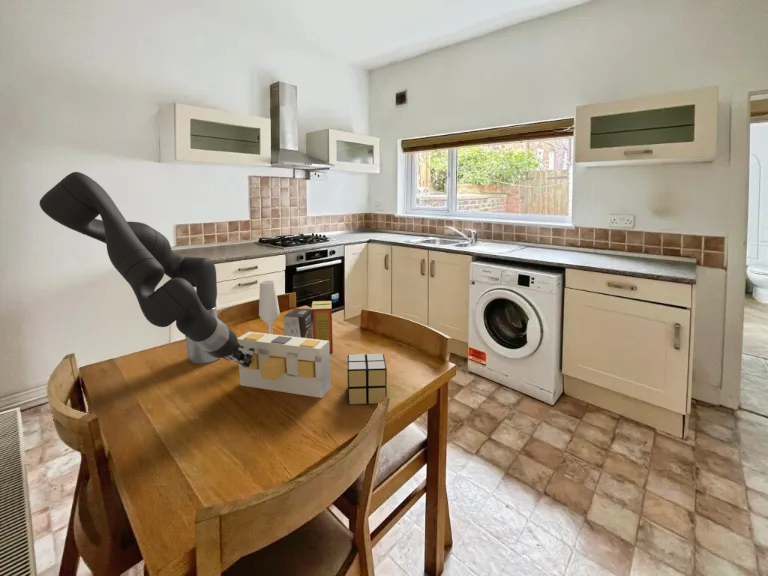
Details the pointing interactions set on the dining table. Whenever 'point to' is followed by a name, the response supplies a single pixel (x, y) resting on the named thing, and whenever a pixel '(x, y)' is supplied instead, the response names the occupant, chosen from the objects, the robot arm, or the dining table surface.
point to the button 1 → (254, 362)
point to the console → (288, 363)
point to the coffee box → (299, 323)
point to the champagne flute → (268, 303)
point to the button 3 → (306, 368)
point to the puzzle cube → (366, 378)
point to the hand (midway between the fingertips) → (247, 363)
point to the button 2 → (273, 368)
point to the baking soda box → (322, 321)
